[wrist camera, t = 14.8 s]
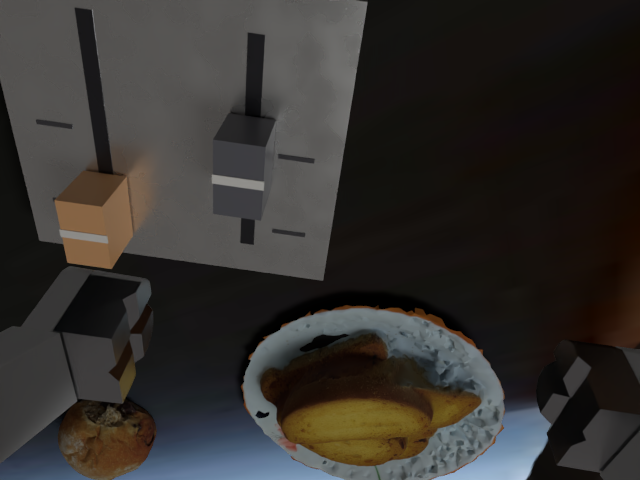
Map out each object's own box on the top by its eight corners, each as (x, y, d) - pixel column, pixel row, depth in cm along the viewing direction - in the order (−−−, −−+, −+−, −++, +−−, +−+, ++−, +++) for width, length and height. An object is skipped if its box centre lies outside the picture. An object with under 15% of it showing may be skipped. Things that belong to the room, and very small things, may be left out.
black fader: (227, 112, 32) (211, 140, 29) (276, 119, 32) (266, 147, 29) (226, 182, 35) (212, 214, 32) (271, 189, 35) (261, 221, 32)
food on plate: (360, 485, 62) (359, 542, 56) (196, 378, 53) (176, 434, 48) (552, 399, 50) (574, 460, 45) (384, 243, 41) (386, 297, 36)
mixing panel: (-1, -62, 30) (-34, -56, 28) (367, -9, 31) (367, 2, 28) (58, 219, 42) (39, 241, 39) (325, 257, 42) (322, 281, 40)
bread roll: (77, 381, 60) (28, 447, 56) (107, 380, 52) (54, 456, 48) (144, 424, 64) (104, 489, 59) (181, 429, 56) (138, 503, 52)
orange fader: (82, 170, 35) (52, 200, 32) (127, 176, 35) (102, 207, 32) (92, 229, 38) (66, 263, 35) (133, 235, 38) (111, 269, 35)
